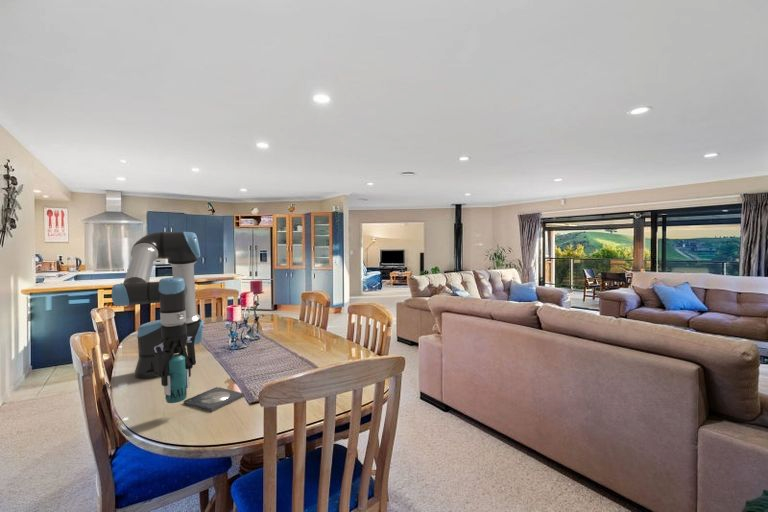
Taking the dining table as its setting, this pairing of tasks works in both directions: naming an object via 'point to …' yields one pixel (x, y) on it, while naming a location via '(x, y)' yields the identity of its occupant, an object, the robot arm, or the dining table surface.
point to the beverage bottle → (177, 377)
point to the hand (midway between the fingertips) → (177, 390)
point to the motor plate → (214, 399)
